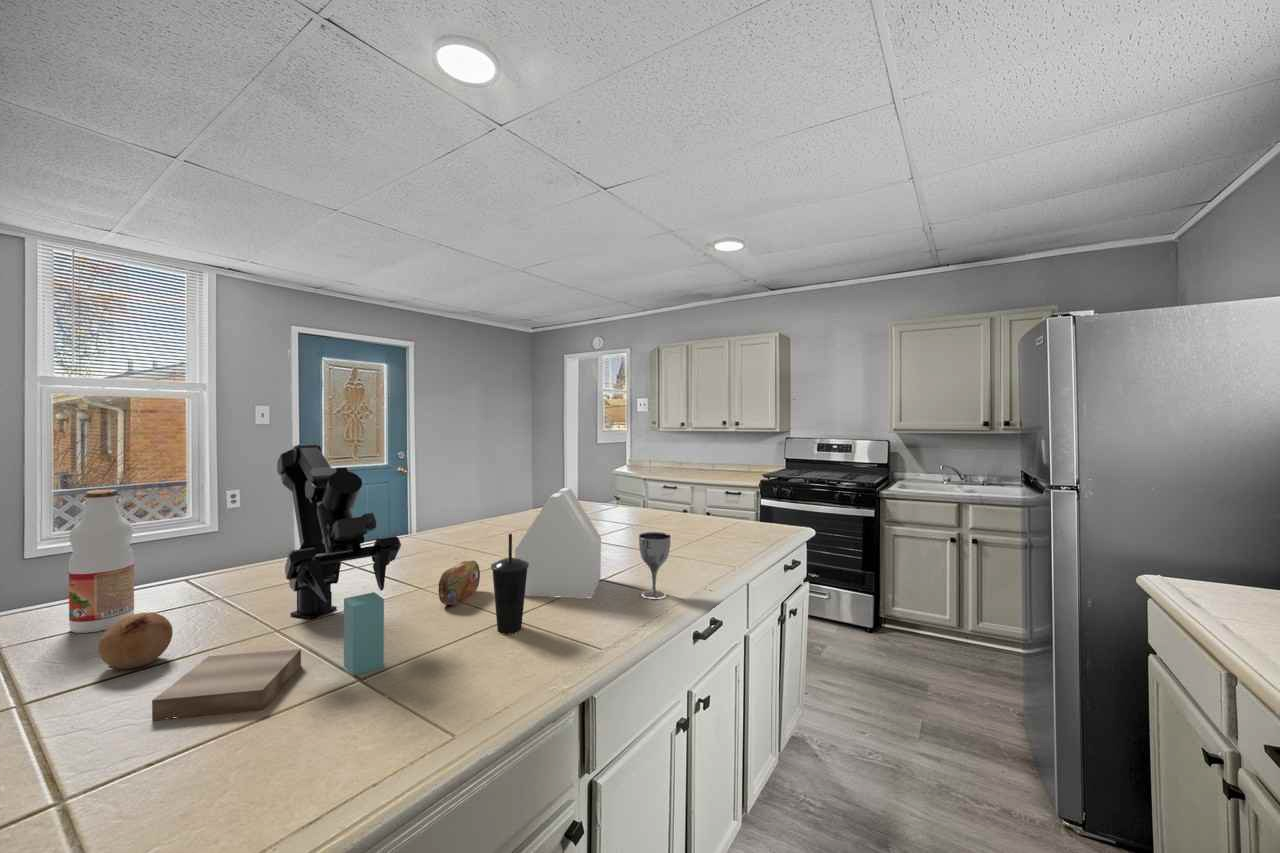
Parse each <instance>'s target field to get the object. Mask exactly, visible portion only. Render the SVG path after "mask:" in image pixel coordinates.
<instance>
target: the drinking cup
mask: <svg viewBox="0 0 1280 853" xmlns="http://www.w3.org/2000/svg"><path fill="white" fill-rule="evenodd" d="M528 567H529V563H528V562H526V561H524V560H521V559H518V558H515V557H513V533H508V557H507V558H506V557H505V558H503V559H502V558H501V559H499V560H498V561H495V562H493V563H492V564H491V566H490V568H491V570H492V581H493V591H494V603H495V605H494V606H495V616H496V618H495V619H496V626H497V628H496V629H497V632H498V633H499V632H500V633H499V634H501V633H505V634H504V635H512V633H513V634H516V633H515V632H517V633H519V632H520V631H521V630H522V625H523V624H522V623H523V616H524V605H525V597H526V596H525V587H526V577H527V568H528ZM518 631H519V632H518ZM509 633H511V634H509Z"/></svg>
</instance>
